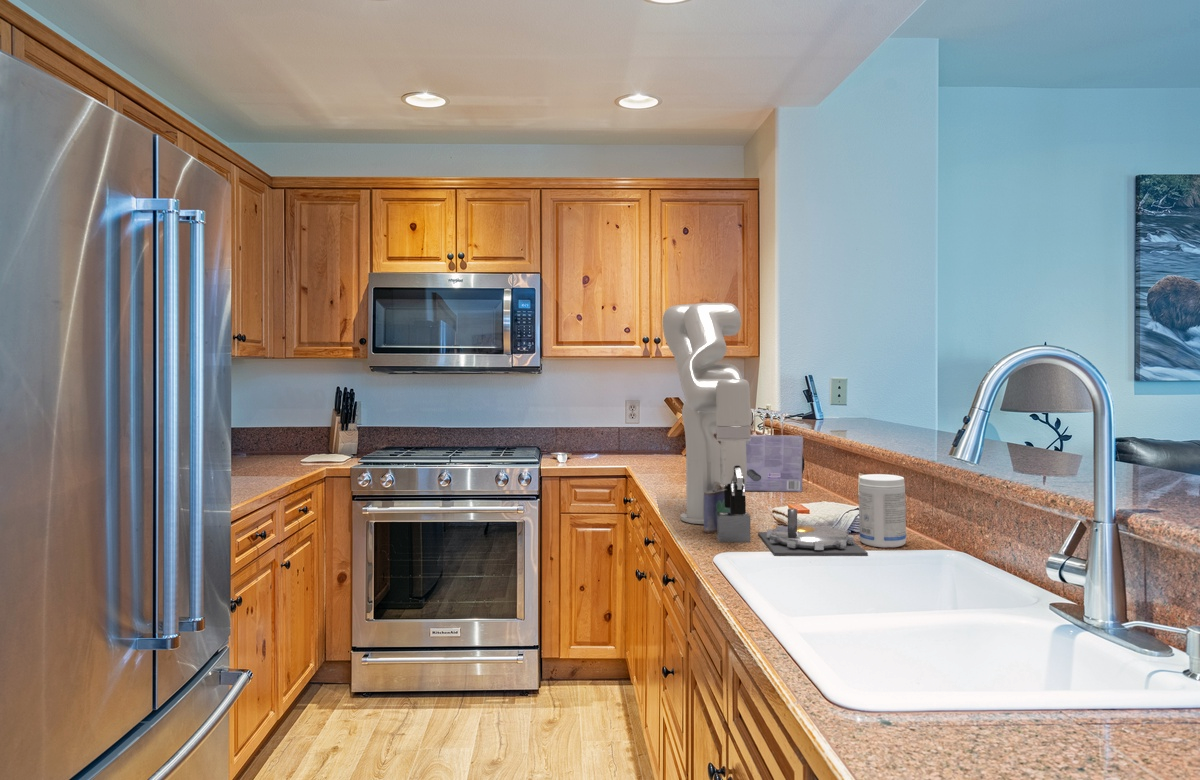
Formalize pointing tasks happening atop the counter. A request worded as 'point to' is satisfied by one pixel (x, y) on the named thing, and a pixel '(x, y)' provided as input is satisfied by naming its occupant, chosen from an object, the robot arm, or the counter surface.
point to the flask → (713, 507)
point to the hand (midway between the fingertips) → (734, 510)
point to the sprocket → (808, 535)
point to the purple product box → (774, 463)
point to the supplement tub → (882, 510)
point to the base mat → (811, 549)
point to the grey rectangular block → (733, 527)
